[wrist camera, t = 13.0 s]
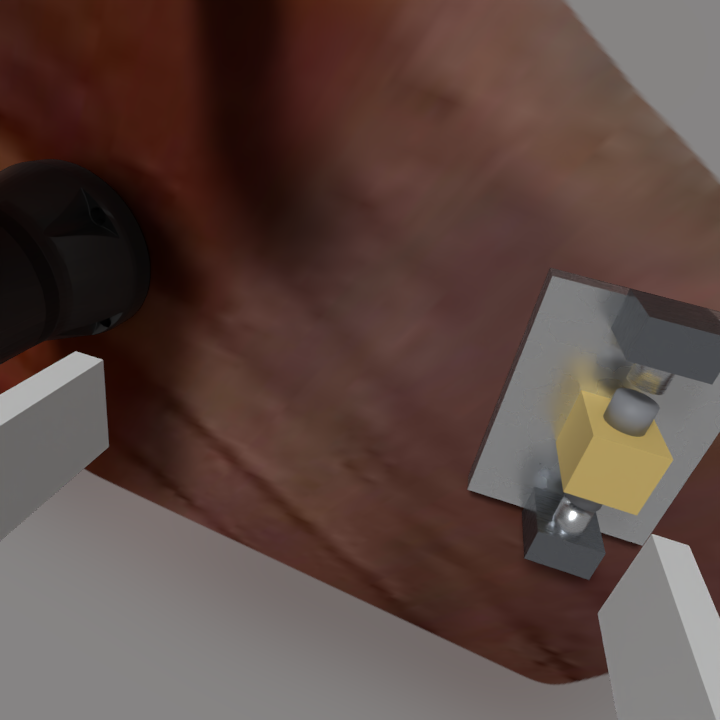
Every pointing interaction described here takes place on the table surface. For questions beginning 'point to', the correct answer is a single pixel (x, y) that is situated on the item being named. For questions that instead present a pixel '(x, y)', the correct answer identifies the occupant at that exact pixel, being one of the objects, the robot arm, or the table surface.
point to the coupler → (612, 451)
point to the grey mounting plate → (602, 377)
